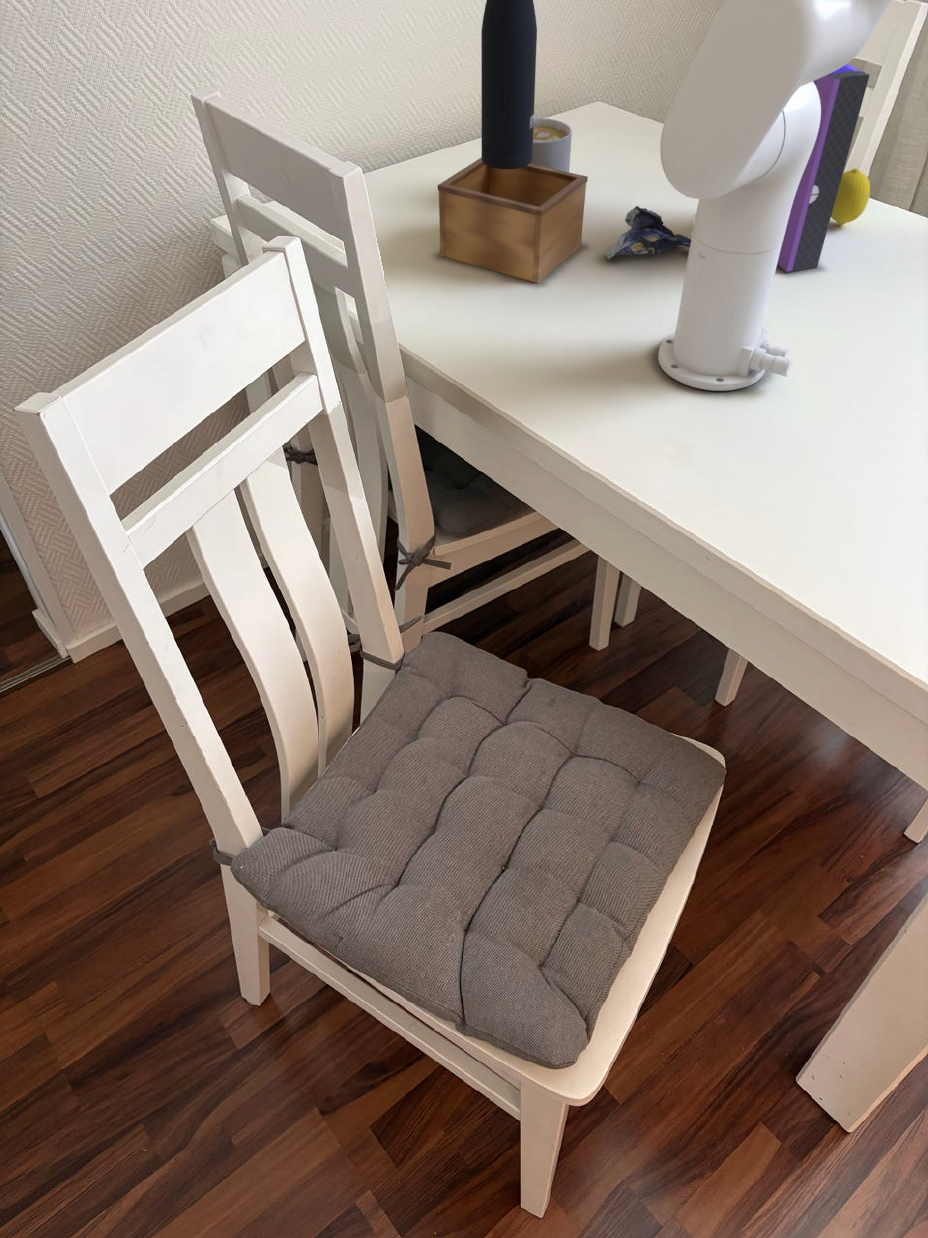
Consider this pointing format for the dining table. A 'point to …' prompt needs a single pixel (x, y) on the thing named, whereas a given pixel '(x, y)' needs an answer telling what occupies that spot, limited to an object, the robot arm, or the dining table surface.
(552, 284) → the dining table surface
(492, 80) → the navy water bottle
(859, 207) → the lemon
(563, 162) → the coffee mug
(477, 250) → the wooden box
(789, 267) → the cereal box
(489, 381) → the dining table surface
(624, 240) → the snack package
